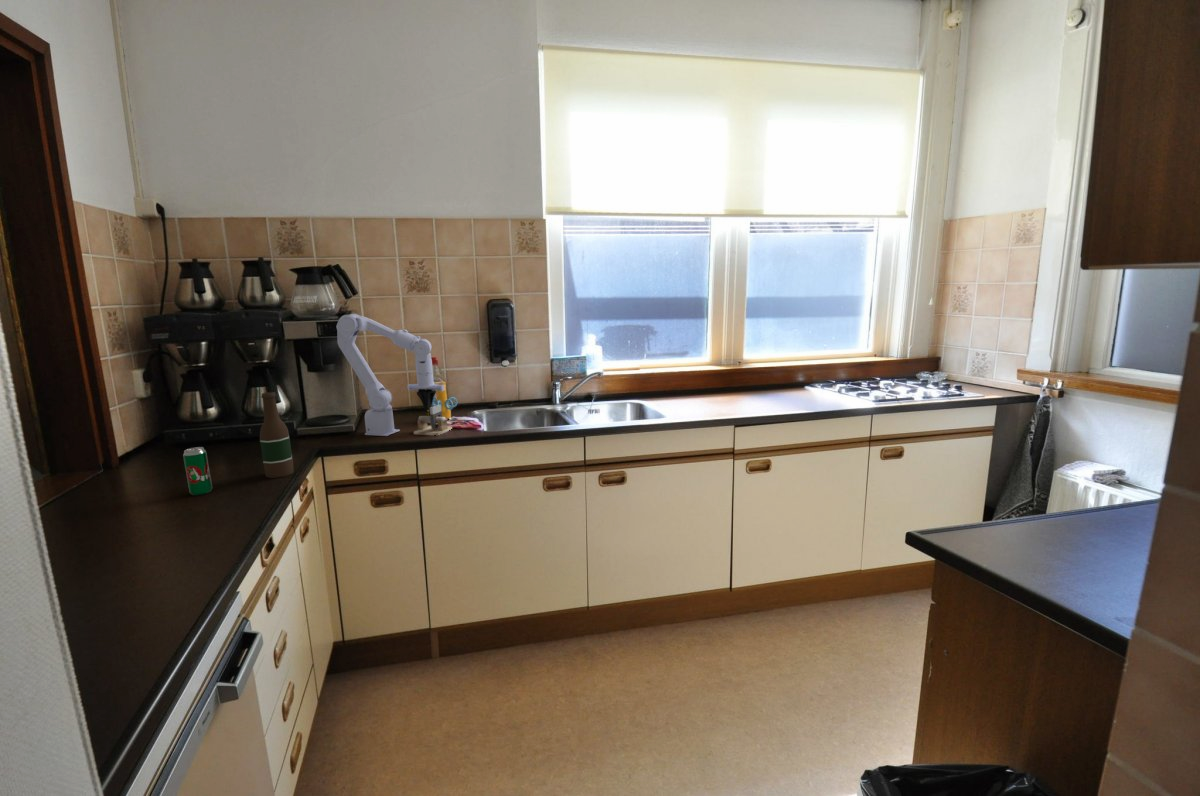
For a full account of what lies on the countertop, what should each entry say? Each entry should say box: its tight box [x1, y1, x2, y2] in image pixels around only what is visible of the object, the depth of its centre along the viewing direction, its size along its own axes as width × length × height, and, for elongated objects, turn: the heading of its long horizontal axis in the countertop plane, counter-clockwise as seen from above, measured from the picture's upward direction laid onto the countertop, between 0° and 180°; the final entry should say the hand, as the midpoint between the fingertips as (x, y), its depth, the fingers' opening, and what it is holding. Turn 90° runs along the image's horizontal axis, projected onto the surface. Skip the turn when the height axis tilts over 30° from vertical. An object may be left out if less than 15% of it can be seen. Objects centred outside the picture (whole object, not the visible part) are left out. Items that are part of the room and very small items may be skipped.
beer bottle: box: [259, 391, 294, 479], centre depth 167 cm, size 8×8×24 cm
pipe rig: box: [413, 415, 453, 437], centre depth 212 cm, size 10×9×6 cm
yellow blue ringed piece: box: [432, 381, 458, 418], centre depth 230 cm, size 12×10×15 cm
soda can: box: [182, 446, 213, 496], centre depth 155 cm, size 5×5×12 cm
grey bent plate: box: [429, 404, 442, 429], centre depth 211 cm, size 1×5×8 cm, turn 162°
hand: (428, 409), depth 214 cm, fingers closed
